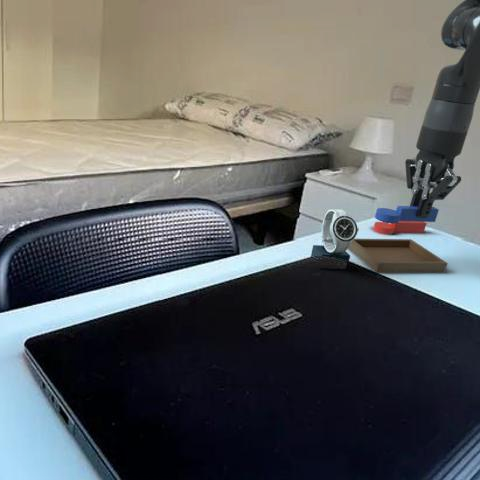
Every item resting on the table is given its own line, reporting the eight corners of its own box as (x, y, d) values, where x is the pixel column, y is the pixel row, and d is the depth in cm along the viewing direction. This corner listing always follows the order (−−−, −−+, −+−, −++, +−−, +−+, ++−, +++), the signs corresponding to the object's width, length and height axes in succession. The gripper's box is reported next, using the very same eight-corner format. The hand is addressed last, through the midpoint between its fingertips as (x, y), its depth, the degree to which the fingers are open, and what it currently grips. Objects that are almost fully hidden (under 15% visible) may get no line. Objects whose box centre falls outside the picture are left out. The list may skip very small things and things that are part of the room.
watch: (323, 274, 92) (336, 218, 88) (306, 255, 99) (317, 203, 95) (351, 275, 93) (366, 219, 88) (333, 256, 100) (345, 204, 96)
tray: (408, 248, 107) (411, 239, 107) (444, 272, 97) (447, 263, 96) (346, 247, 105) (348, 238, 104) (376, 273, 94) (379, 263, 94)
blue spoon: (425, 216, 101) (429, 204, 100) (439, 224, 97) (444, 212, 96) (370, 215, 98) (373, 202, 97) (382, 223, 94) (386, 210, 93)
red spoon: (415, 228, 119) (418, 218, 118) (427, 235, 115) (430, 225, 114) (369, 227, 117) (372, 217, 116) (379, 235, 113) (382, 224, 112)
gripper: (491, 135, 85) (459, 229, 92) (438, 120, 98) (413, 204, 104) (452, 133, 84) (422, 228, 91) (404, 118, 96) (380, 203, 103)
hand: (417, 215), depth 98 cm, fingers closed on blue spoon, 1 cm apart
